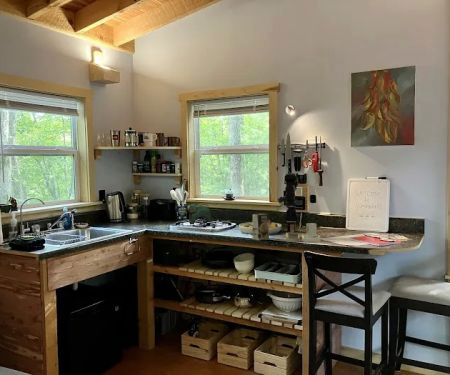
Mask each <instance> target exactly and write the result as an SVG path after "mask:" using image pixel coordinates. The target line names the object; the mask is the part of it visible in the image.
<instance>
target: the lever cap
mask: <svg viewBox="0 0 450 375" xmlns="http://www.w3.org/2000/svg"><path fill="white" fill-rule="evenodd" d="M305 229H306V230H305V233H306V234H305V235H306V238H316V235H317V223H314V222H310V223H308V222H307V223H306V224H305Z"/></svg>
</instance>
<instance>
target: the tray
mask: <svg viewBox="0 0 450 375" xmlns="http://www.w3.org/2000/svg"><path fill="white" fill-rule="evenodd" d="M301 239H302V242H303V243H305V242H306V243H307V242H308V243H309V242H310V243H321V240H322V238H321V236H320V235H317V234H316V238H306V234H302V235H301Z"/></svg>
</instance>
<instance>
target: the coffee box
mask: <svg viewBox="0 0 450 375" xmlns="http://www.w3.org/2000/svg"><path fill="white" fill-rule="evenodd" d="M269 220H270V214H269V213H263V212H262V213H254V214H252V222H253V234H252V240H256V241H261V240H268V239H269V240H270V234H269Z"/></svg>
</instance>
